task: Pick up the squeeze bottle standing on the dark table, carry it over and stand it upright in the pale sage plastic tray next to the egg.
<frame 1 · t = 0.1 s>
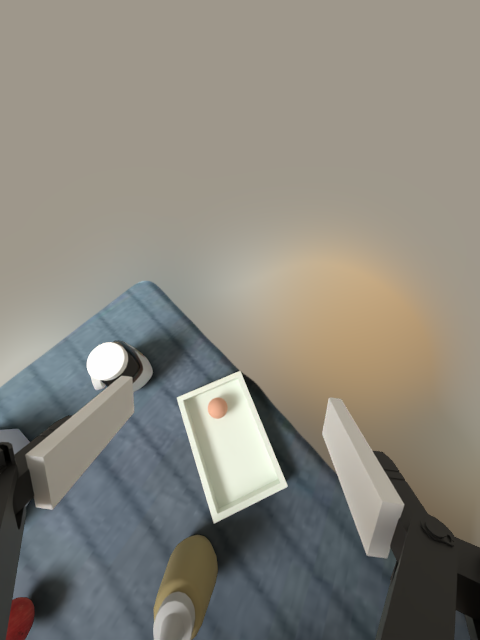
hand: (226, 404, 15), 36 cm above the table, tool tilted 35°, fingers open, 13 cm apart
red fruit: (31, 607, 38), on the table
squeeze bottle: (197, 554, 40), on the table
spread jar: (126, 373, 52), on the table
tray: (229, 437, 47), on the table
egg: (218, 407, 48), point 1 cm above the table, touching tray
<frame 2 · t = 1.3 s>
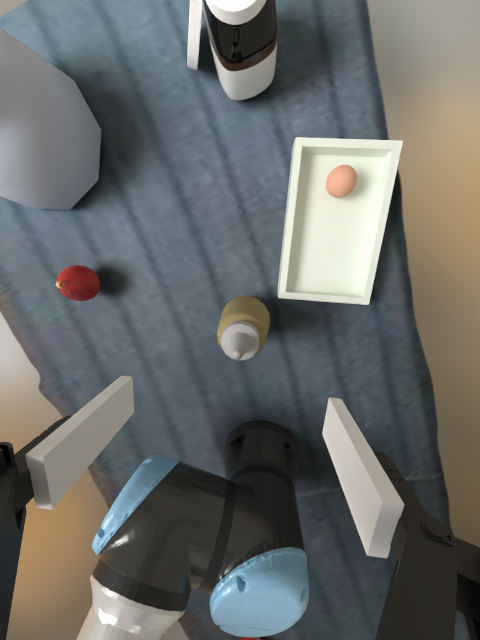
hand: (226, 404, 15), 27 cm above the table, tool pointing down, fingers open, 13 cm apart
red fruit: (95, 281, 42), on the table
bottle: (48, 148, 37), on the table
squeeze bottle: (246, 315, 41), on the table
spread jar: (229, 65, 33), on the table
tray: (328, 229, 36), on the table
egg: (336, 186, 34), point 1 cm above the table, touching tray
liquor: (252, 636, 63), on the table
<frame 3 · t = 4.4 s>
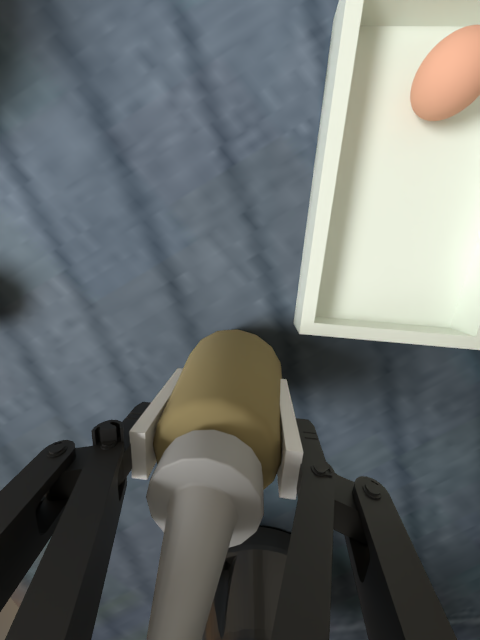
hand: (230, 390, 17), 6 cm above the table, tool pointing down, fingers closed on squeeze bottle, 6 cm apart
squeeze bottle: (237, 357, 23), on the table, touching gripper
tray: (399, 198, 18), on the table
egg: (427, 100, 16), point 1 cm above the table, touching tray
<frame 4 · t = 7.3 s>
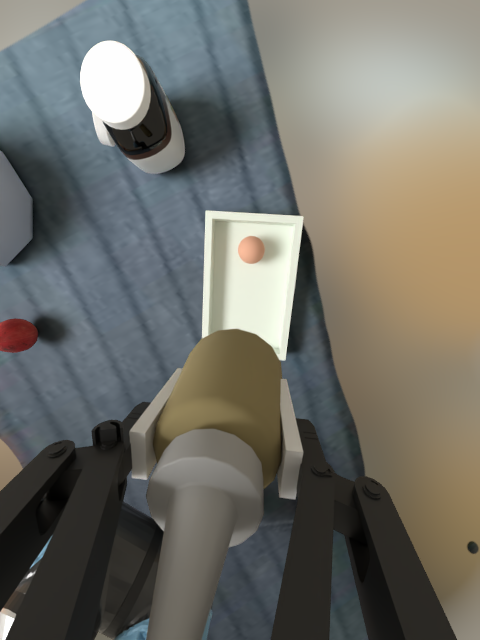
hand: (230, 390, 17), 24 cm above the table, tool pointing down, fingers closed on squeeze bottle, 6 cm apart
red fruit: (36, 329, 44), on the table
squeeze bottle: (237, 356, 23), point 17 cm above the table, touching gripper
spread jar: (147, 140, 35), on the table
tray: (249, 288, 39), on the table
egg: (251, 250, 36), point 1 cm above the table, touching tray
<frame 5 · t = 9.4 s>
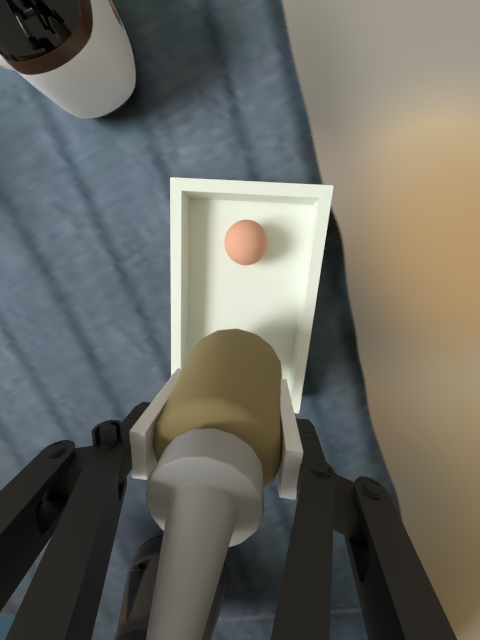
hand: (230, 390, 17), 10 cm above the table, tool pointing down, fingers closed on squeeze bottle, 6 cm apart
squeeze bottle: (237, 356, 23), point 4 cm above the table, touching gripper
spread jar: (79, 66, 22), on the table
tray: (243, 302, 25), on the table
egg: (247, 244, 23), point 1 cm above the table, touching tray
when the fingers open (8 cm above the table, at t = 10.7 s): squeeze bottle drops 1 cm, resting on tray.
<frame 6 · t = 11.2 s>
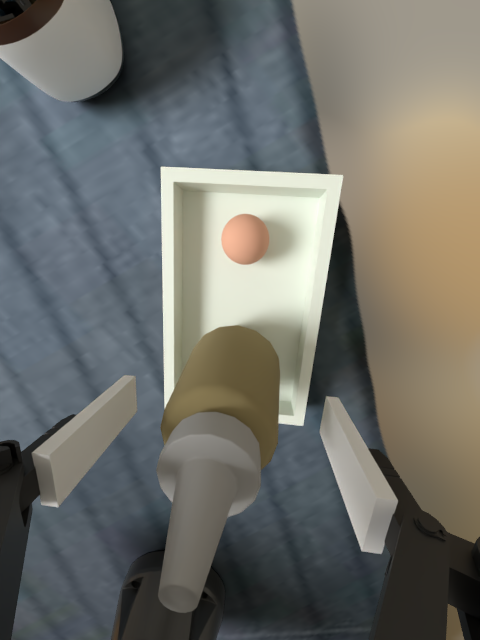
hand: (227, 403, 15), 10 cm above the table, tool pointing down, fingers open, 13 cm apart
squeeze bottle: (238, 352, 24), point 1 cm above the table, touching tray
spread jar: (60, 44, 19), on the table
tray: (242, 304, 23), on the table
egg: (246, 242, 21), point 1 cm above the table, touching tray
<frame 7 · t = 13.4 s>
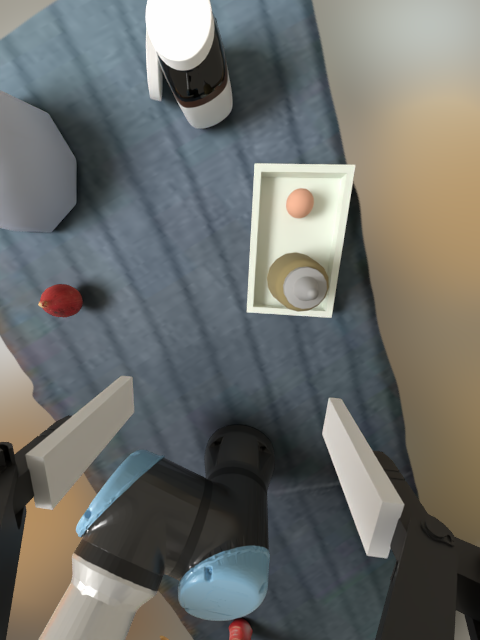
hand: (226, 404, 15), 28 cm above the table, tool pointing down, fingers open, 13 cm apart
red fruit: (79, 297, 45), on the table
bottle: (29, 174, 40), on the table
squeeze bottle: (290, 277, 39), point 1 cm above the table, touching tray
spread jar: (192, 95, 34), on the table
tray: (293, 246, 38), on the table
egg: (297, 206, 36), point 1 cm above the table, touching tray
liquor: (241, 621, 68), on the table
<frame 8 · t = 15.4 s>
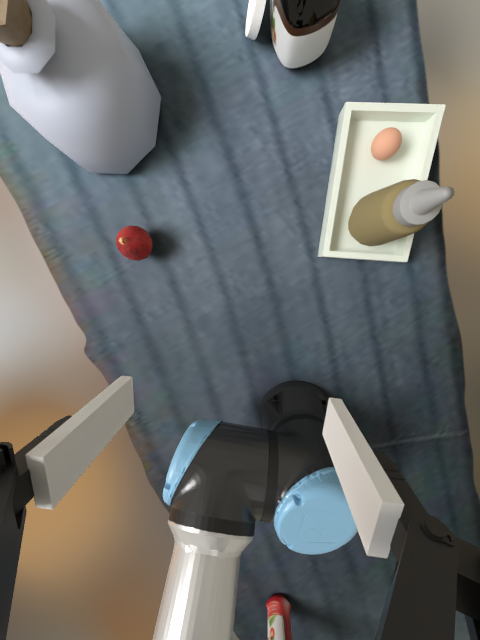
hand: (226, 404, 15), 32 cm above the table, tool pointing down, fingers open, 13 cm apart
red fruit: (145, 245, 45), on the table
bottle: (108, 116, 40), on the table
squeeze bottle: (364, 223, 40), point 1 cm above the table, touching tray
spread jar: (283, 37, 35), on the table
tray: (369, 193, 39), on the table
egg: (379, 150, 37), point 1 cm above the table, touching tray
liquor: (277, 598, 66), on the table
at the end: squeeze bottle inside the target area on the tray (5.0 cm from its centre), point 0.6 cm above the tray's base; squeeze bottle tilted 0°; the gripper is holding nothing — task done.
